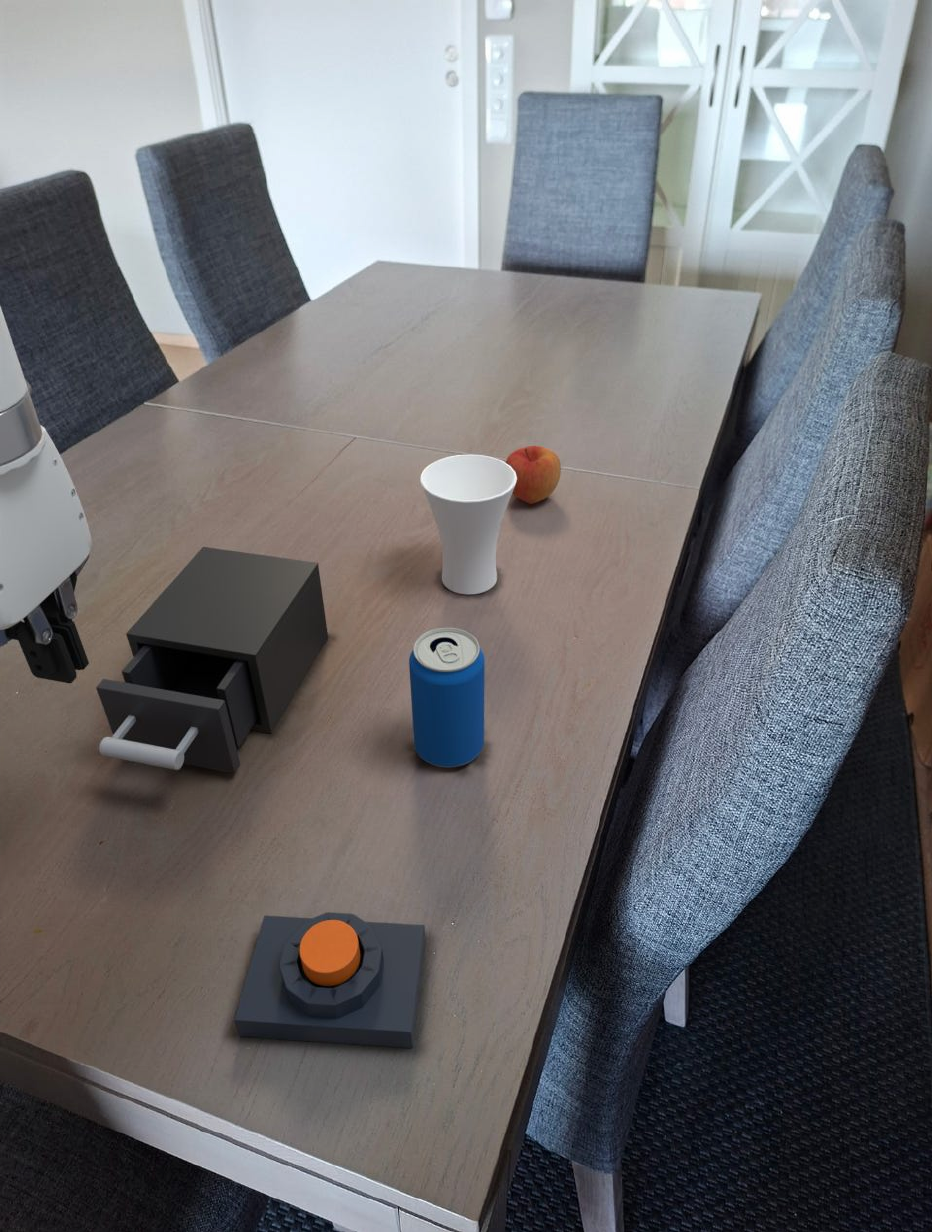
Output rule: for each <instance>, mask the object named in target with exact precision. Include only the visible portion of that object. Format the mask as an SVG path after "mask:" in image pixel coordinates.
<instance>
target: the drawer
mask: <svg viewBox="0 0 932 1232" xmlns="http://www.w3.org/2000/svg"><path fill="white" fill-rule="evenodd" d="M121 674H122V677H123V681H119V680H112V679H107V678H103V679H102V680H101V681H100V682H99V683H98V685H96V687H95V690H96V692H97V695H98V697H99V700H100V703H101V705H102V708H103V711H104V714H105V717H106V719H107V722H108V724H109V727H110V730H111V733H112V736H105V737H103V738H102V739H101V741H100V743H99V746H98V747H99V748H98V750H99V751H98V752H99V754H100V755H101V756H104V757H108V758H114V759H119V760H123V761H129V762H135V763H139V764H143V765H150V766H154V767H159V768H165V769H168V770H169V769H170V770H175V771H179V770H180V769H181V768H182V767H183V765H189V766H193V767H194V766H195V767H200V768H205V769H209V770H215V771H220V772H225V773H230V774H236V773H237V771H238V769H239V767H240V766H241V761H240V757H239V753H238V749H240V747H241V745H242V744H243V743H244V741H245V740H246V738H247V735H249V733H250V731H251V730H250V729H251V728H252V726H253V725H254V723H255V721H256V720H257V718H258V717H259V711H258V706H257V701H256V697H255V692H254V687H253V683H252V678H251V673H250V669H249V664H248V661H244V660H238V659H232V658H226V657H220V656H215V655H209V654H203V653H197V652H191V651H185V650H179V649H173V648H167V647H161V646H155V645H149V644H144V646H143V647H142V648H141V649H140V650H139V652H138V653H137V654H136V655H135V656H134V657H132V658H131V660H130V661H129V662H128V663H127V664H126V665H125V666H124V668H123V669H122V670H121Z"/></svg>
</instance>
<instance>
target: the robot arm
mask: <svg viewBox="0 0 932 1232" xmlns="http://www.w3.org/2000/svg"><path fill="white" fill-rule="evenodd" d="M10 333H11V332H10V331H9V327H8V323H7V322H6V319H5V316H4V313H3V310H2V307H1V305H0V648H2V647H3V646H5V645H7V644H8V642H10V641H12V640H15V641H17V642H18V643H19V646H20V648H21V651H22V653H23V656H24V658H25V660H26V663H27V665H28V667H29V670H30V672H31V674H32V675H33V676H34V677H35V678H37V679H43V680H48V681H53V682H60V683H65V684H73V682H74V681H75V680H76V679H77V671H84V670H85V669H86V668H87V667H88V666H89V664H90V661H89V658H88V656H87V653H86V650H85V648H84V645H83V642H82V639H81V637H80V634H79V632H78V628H77V626H76V623H75V621H73V619H75V617H76V616H77V615H78V609H79V608H78V604H77V600H76V595H75V591H76V586H77V582H78V576H79V575H80V574H81V571H82V570H83V568H84V567H85V566H86V564H87V562H88V561H89V559H90V552H91V551H92V547H93V545H92V536H91V532H90V528H89V524H88V521H87V517H86V513H85V511H84V509H83V505H82V502H81V500H80V497H79V495H78V492H77V490H76V487H75V484H74V482H73V480H72V478H71V475H70V473H69V471H68V469H67V466H66V464H65V463H64V459H63V457H62V456H61V454H60V452H59V451H58V449H57V447H56V444H55V443H54V441H53V439H52V438H51V436H50V435H49V433H48V431H47V429H46V428H45V427H44V426H43V425H41V423H40V420H39V417H38V414H37V411H36V408H35V404H34V402H33V399H32V397H31V396H32V394H33V387H32V386H31V384H30V383H29V381H28V380H26V378H25V376H24V371H23V369H22V366H21V364H20V363H21V362H20V360H19V357H18V354H17V351H16V348H15V346H14V342H13V339H12V337H11V334H10ZM22 620H23V621H22Z"/></svg>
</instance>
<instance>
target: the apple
mask: <svg viewBox="0 0 932 1232" xmlns="http://www.w3.org/2000/svg"><path fill="white" fill-rule="evenodd" d="M505 463H506V464H508V465H510V466H511V467H512V469H513V470H514V471H515V472H516V476H517V481H516V484H515V487H514V490H513V492H512V495H514V496H515V497H516V498H518V499H519V500H521V501H523V502H524V503H526V504H528V505H533V504H535V503H539V502H540V501H543V500H546V499H547V498H548V497H549V496H551V495H552V494H553V493H554V491H555V490H556V488H557V486H558V485H559V482H560V479H561V475H562V474H561V473H562V466H561V465H562V464H561V461H560V458H559V456H558V455H557V453H555V452H554V451H552V450H551V449H549V448H547V447H543V446H540V445H539V446H538V445H530V446H525V447H520V448H518V449H516V450H513V451H512V452H511V453H510V454H509V455H508V456H507V457H506V460H505Z"/></svg>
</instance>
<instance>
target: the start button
mask: <svg viewBox="0 0 932 1232" xmlns="http://www.w3.org/2000/svg"><path fill="white" fill-rule="evenodd" d="M299 953H300V958H301V962H302V967H303V970H304V973H305V975H306V976H307V977H308V979H309V980H311V981H312V982H314V983H315V984H318V985H321V986H335V985H338V984H341V983H343V982H345V981H346V980H348V979H349V978H350V977H351V976H352V975H353V974H354V973H355V971H356V970H357V968H358V966H359V962H360V949H359V942H358V937H357V934H356V932H355V931H354V929H353V928H352V927H351V926H349V925H348V924H347V923H345V922H342V921H339V920H326V921H322V922H320V923H318V924H316V925H314V926H312V927H311V928H310V929H309V930H308V931H307V932H306V933H305V935H304V936H303V938H302V940H301V943H300V948H299Z"/></svg>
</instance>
